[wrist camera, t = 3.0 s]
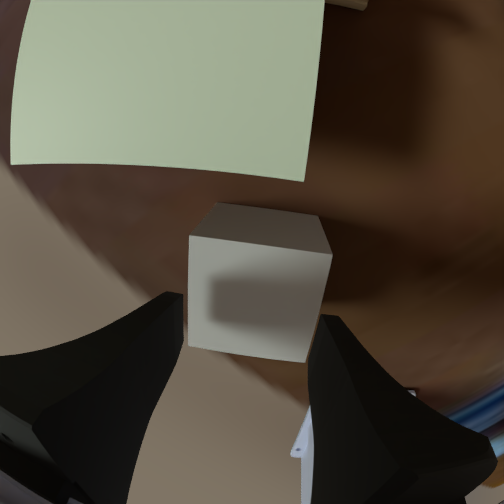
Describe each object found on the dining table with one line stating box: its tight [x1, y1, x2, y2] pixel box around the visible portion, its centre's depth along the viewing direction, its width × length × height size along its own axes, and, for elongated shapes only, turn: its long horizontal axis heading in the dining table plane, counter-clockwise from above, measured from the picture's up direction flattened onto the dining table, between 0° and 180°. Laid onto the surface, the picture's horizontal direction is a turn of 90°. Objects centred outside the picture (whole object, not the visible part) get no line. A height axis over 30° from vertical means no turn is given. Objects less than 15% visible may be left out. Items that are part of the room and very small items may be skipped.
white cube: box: [188, 202, 333, 363], centre depth 14 cm, size 5×5×5 cm
